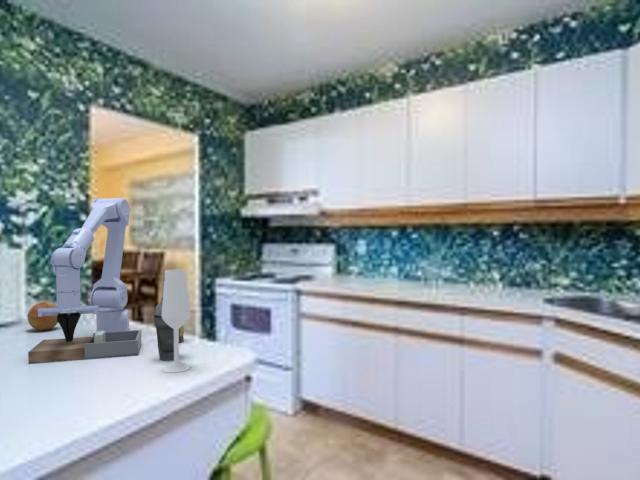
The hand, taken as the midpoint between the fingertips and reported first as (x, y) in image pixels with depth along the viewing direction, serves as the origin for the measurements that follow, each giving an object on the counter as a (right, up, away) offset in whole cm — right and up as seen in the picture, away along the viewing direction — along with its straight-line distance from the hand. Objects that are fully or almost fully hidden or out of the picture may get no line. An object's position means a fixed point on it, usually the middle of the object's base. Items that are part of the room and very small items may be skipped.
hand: (69, 341), depth 129 cm
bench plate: (-2, -4, 0) cm, 4 cm away
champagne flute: (+33, -4, -14) cm, 36 cm away
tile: (+6, -1, +2) cm, 7 cm away
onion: (-26, -3, +32) cm, 41 cm away
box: (+11, -4, +3) cm, 12 cm away
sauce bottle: (+24, -3, +14) cm, 28 cm away
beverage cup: (+29, -4, -5) cm, 29 cm away
